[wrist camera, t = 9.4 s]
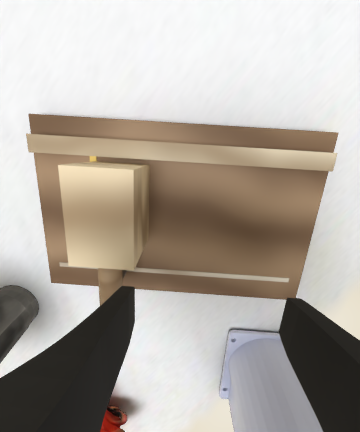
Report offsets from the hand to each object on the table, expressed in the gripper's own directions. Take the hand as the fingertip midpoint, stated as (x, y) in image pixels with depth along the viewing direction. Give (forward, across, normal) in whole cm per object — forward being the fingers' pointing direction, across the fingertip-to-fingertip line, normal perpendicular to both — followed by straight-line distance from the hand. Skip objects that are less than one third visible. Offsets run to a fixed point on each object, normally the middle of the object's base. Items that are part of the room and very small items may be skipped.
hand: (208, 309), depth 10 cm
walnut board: (+9, +2, -2) cm, 10 cm away
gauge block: (+8, +6, -1) cm, 10 cm away
